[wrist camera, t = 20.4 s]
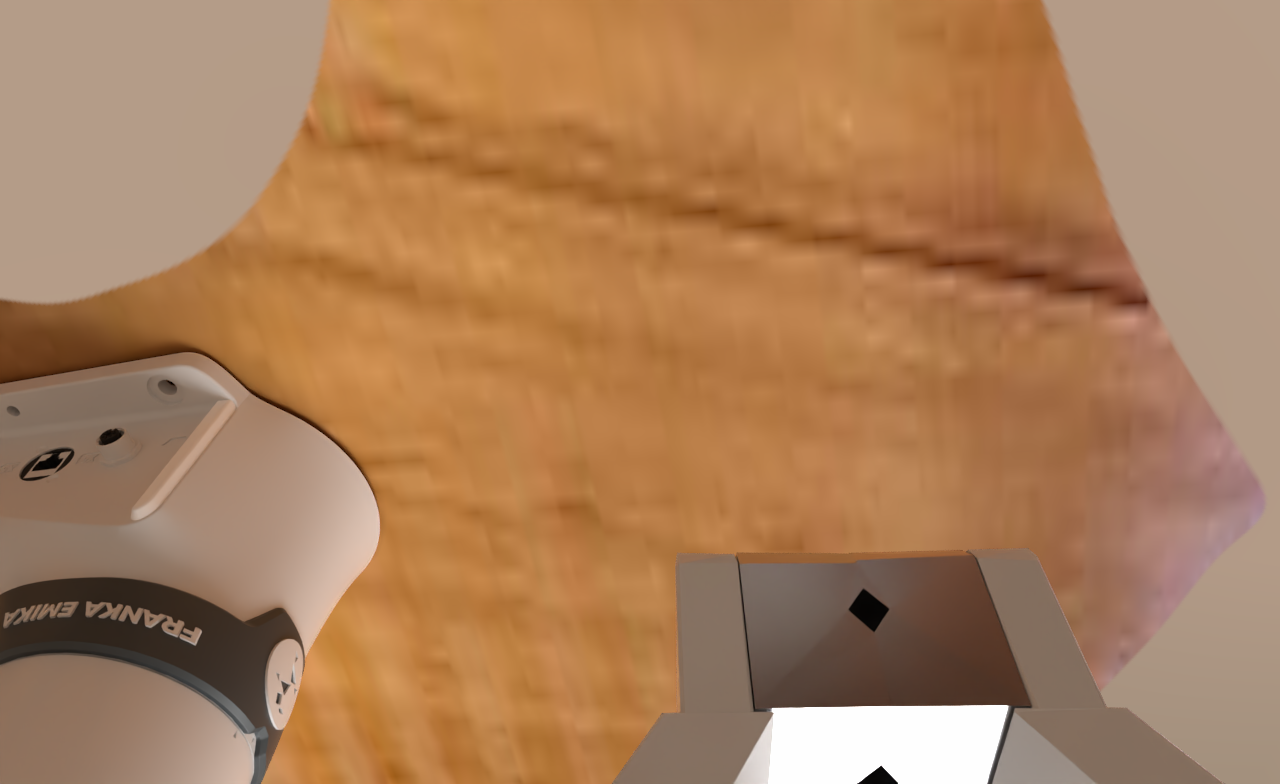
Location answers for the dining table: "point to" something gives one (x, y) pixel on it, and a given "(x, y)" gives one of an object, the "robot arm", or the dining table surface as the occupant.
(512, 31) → the dining table surface
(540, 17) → the dining table surface
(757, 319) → the dining table surface
